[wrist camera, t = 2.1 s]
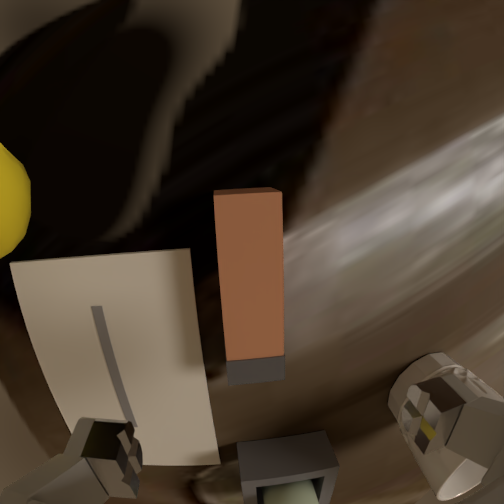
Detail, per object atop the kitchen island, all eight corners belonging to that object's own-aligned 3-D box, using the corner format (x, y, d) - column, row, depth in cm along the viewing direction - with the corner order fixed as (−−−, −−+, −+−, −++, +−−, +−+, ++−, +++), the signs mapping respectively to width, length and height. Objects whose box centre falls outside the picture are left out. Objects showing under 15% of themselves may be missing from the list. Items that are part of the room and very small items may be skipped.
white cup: (368, 425, 23) (417, 513, 13) (398, 348, 21) (477, 437, 11) (437, 411, 24) (490, 479, 14) (468, 341, 22) (543, 404, 12)
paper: (11, 261, 16) (8, 263, 16) (190, 248, 17) (189, 249, 17) (86, 456, 21) (85, 459, 21) (220, 461, 22) (220, 465, 22)
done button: (259, 469, 20) (269, 521, 16) (311, 462, 21) (327, 511, 16) (260, 493, 21) (269, 540, 17) (307, 486, 22) (320, 531, 17)
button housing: (236, 442, 22) (240, 481, 18) (324, 430, 22) (339, 465, 18) (242, 486, 24) (246, 520, 20) (317, 475, 24) (327, 507, 20)
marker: (213, 190, 17) (212, 195, 14) (271, 187, 17) (283, 192, 14) (226, 354, 19) (228, 385, 16) (275, 350, 20) (285, 379, 17)
